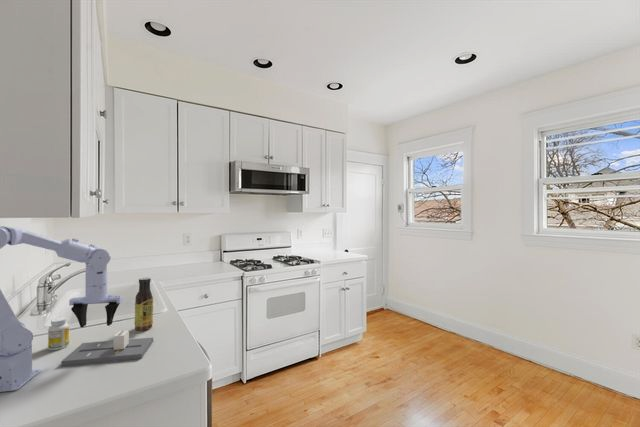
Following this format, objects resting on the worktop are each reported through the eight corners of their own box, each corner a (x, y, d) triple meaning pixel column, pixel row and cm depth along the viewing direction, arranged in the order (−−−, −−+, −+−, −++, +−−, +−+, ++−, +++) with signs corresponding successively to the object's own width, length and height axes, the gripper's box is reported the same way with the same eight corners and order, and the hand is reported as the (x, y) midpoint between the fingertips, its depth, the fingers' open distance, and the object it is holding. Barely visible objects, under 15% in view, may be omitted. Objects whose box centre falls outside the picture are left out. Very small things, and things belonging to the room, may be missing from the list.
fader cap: (123, 348, 98) (123, 335, 98) (113, 349, 98) (113, 335, 97) (128, 343, 102) (128, 329, 102) (118, 344, 101) (118, 330, 101)
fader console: (141, 358, 96) (141, 353, 96) (61, 366, 91) (61, 360, 91) (153, 341, 108) (153, 337, 107) (82, 347, 102) (82, 342, 102)
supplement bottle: (53, 352, 99) (53, 323, 99) (45, 348, 101) (44, 320, 101) (72, 345, 104) (72, 318, 104) (63, 342, 106) (63, 315, 106)
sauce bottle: (144, 332, 115) (144, 281, 114) (130, 330, 116) (130, 280, 115) (157, 325, 121) (156, 277, 120) (143, 324, 122) (143, 276, 122)
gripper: (126, 280, 104) (126, 319, 104) (78, 282, 101) (78, 322, 101) (117, 286, 97) (117, 327, 97) (65, 287, 94) (65, 330, 94)
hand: (96, 325), depth 99 cm, fingers open, 7 cm apart
